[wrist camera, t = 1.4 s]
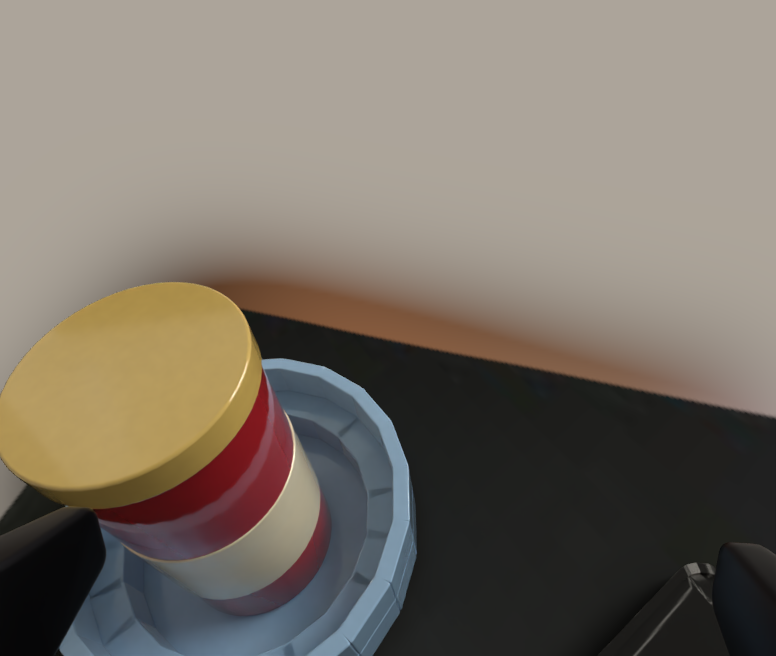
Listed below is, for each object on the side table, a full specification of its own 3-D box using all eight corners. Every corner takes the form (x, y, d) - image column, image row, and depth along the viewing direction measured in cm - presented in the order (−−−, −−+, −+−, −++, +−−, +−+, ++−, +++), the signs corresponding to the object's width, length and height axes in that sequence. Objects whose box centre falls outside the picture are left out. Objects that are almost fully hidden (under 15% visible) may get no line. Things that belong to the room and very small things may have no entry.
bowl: (260, 840, 16) (213, 850, 13) (45, 581, 22) (-20, 549, 19) (476, 496, 23) (478, 451, 20) (263, 367, 29) (240, 318, 26)
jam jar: (257, 660, 19) (82, 550, 10) (150, 555, 22) (-54, 403, 13) (366, 513, 22) (302, 335, 14) (260, 439, 25) (151, 254, 17)
